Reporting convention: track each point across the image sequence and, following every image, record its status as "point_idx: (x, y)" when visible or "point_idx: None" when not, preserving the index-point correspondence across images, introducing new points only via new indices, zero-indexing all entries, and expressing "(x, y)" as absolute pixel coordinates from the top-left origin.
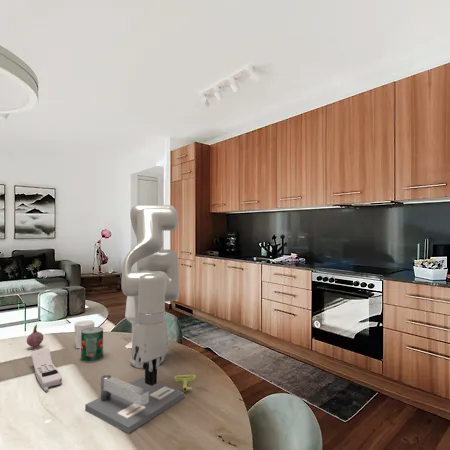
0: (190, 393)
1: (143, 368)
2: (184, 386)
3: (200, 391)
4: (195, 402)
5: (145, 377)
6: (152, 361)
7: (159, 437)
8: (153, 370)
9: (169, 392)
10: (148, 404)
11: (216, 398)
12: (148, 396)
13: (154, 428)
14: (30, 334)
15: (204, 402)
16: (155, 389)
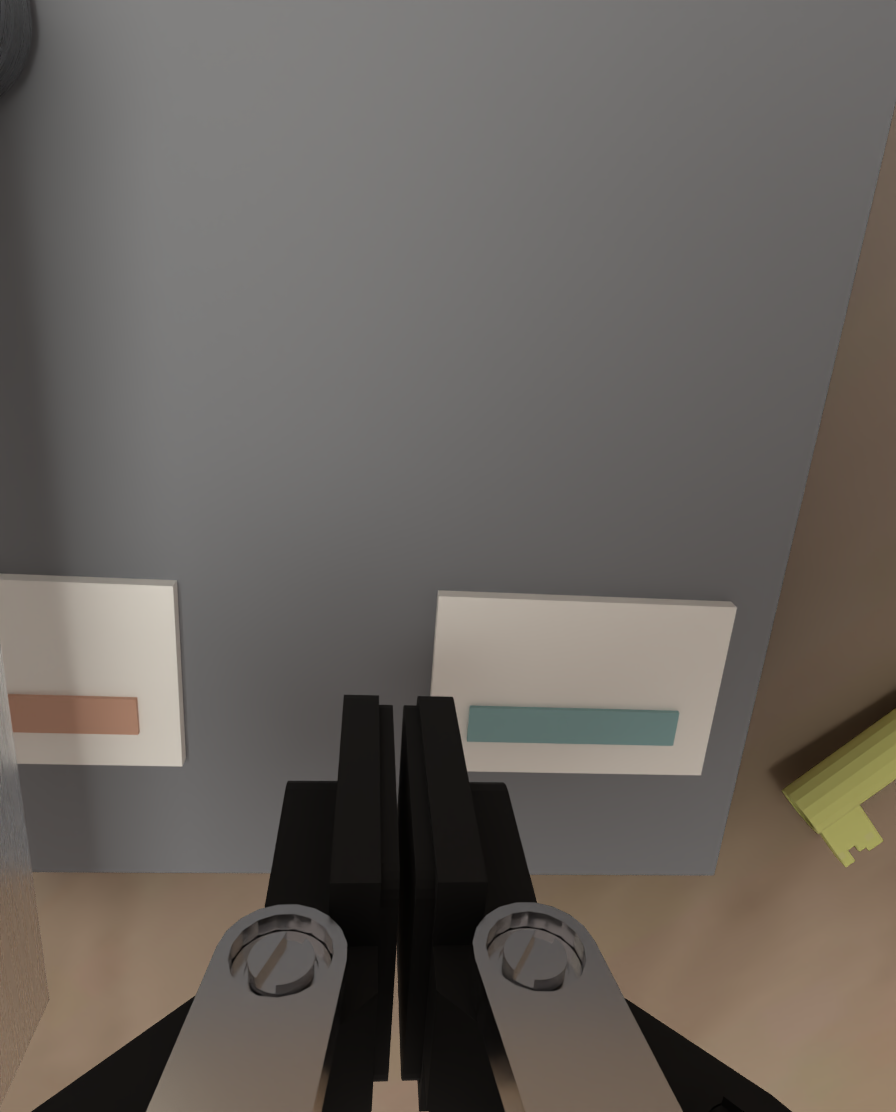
0: (802, 827)
1: (162, 1034)
2: (845, 799)
3: (881, 881)
4: (658, 960)
5: (281, 832)
6: (565, 1081)
7: (31, 1042)
8: (403, 1050)
9: (619, 765)
10: (266, 727)
11: (806, 1054)
12: (13, 1076)
13: (88, 940)
14: None
15: (695, 1017)
16: (620, 535)
